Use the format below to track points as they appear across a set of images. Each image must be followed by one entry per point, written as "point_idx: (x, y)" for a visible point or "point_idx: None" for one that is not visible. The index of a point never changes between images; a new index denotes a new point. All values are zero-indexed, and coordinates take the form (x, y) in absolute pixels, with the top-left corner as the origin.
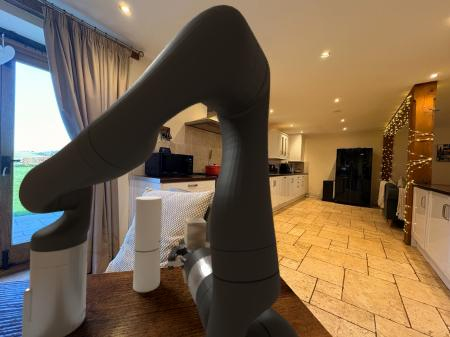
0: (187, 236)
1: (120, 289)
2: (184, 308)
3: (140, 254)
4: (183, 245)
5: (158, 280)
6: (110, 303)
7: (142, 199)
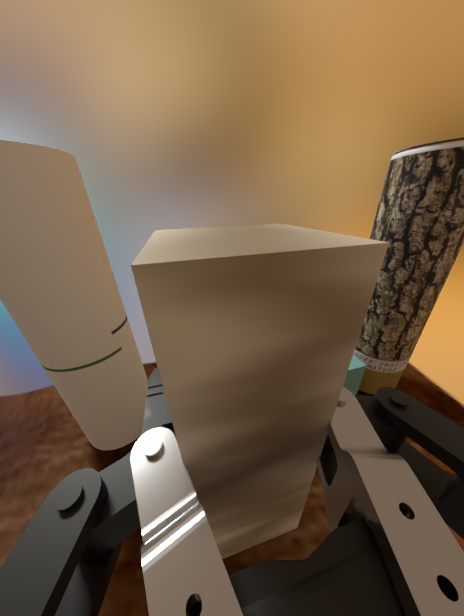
0: (174, 407)
1: (57, 435)
2: None
3: (55, 376)
4: (157, 454)
5: None
6: (6, 504)
7: None
